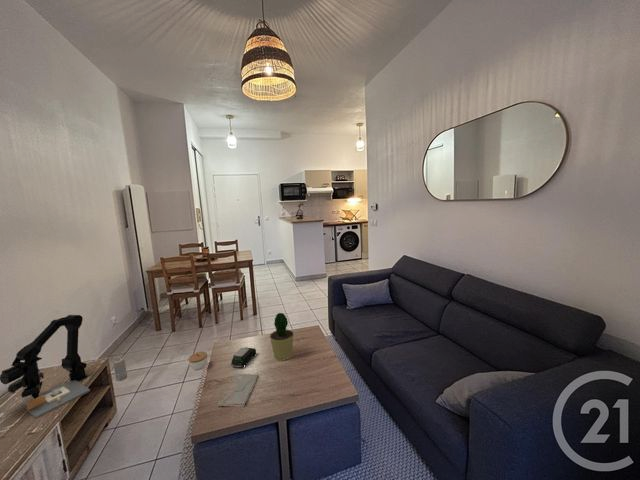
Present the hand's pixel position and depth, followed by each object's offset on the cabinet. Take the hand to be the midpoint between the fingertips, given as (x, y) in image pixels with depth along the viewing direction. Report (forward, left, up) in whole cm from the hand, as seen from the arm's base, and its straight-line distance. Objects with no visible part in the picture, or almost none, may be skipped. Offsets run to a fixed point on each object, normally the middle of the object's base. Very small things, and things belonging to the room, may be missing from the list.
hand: (36, 398), depth 144 cm
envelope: (-56, +93, -3) cm, 108 cm away
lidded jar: (-60, +53, -3) cm, 80 cm away
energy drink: (-32, +19, -3) cm, 37 cm away
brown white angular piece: (-3, +4, -1) cm, 6 cm away
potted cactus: (-93, +94, -3) cm, 132 cm away
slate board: (-7, +4, -3) cm, 8 cm away
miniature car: (-78, +74, -3) cm, 107 cm away
